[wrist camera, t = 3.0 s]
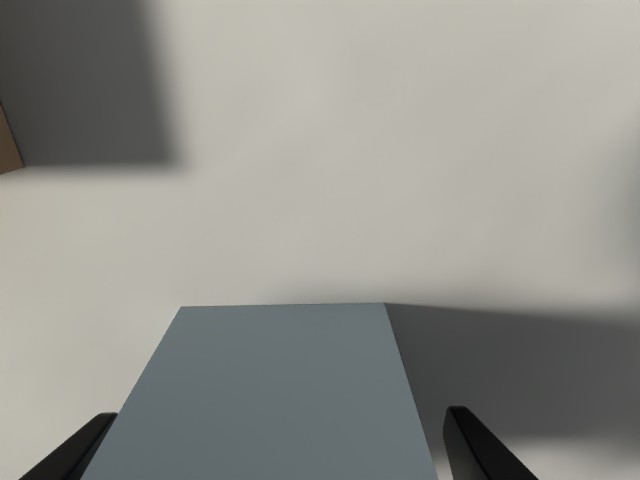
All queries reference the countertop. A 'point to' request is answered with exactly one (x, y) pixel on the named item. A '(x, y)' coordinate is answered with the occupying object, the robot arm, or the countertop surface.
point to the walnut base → (8, 148)
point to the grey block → (270, 400)
